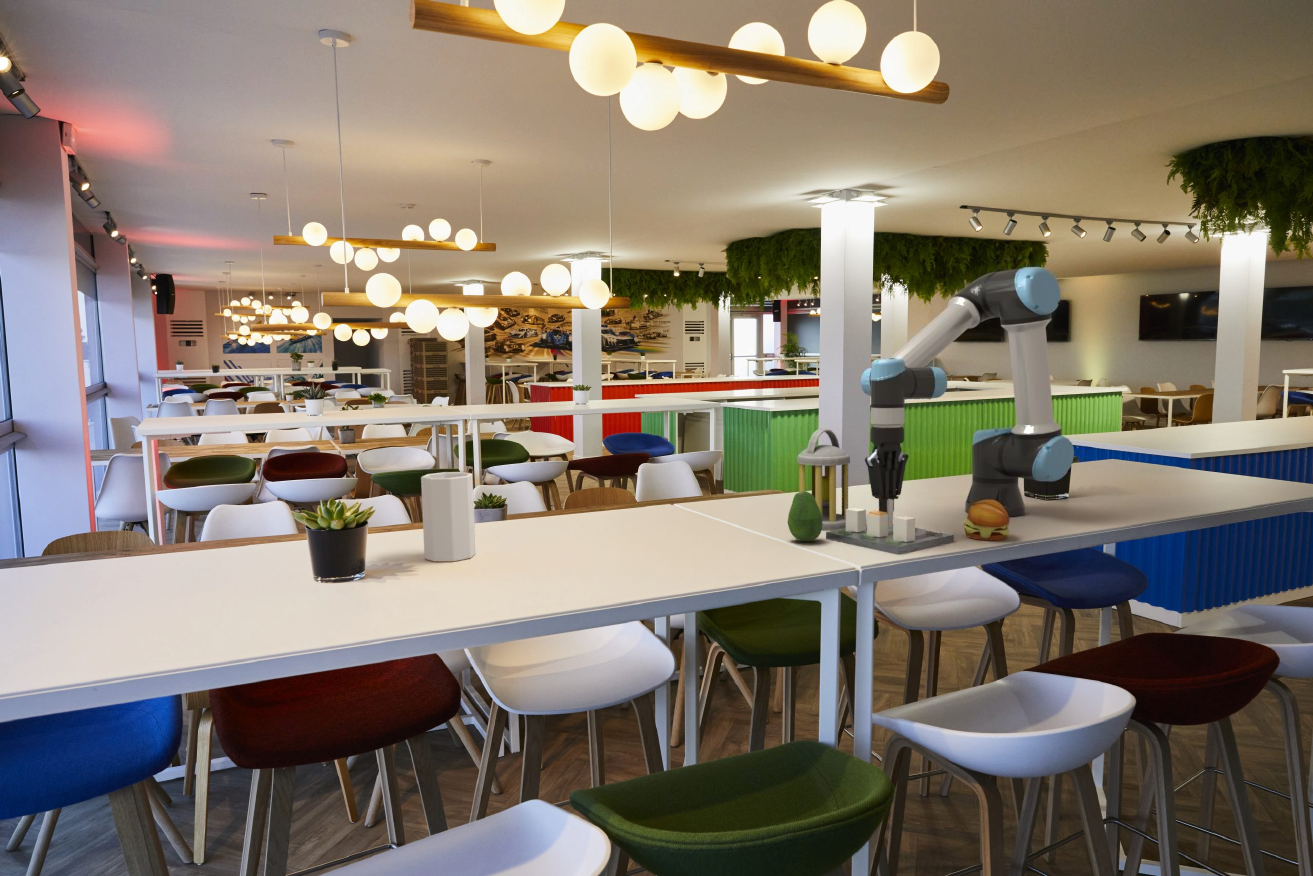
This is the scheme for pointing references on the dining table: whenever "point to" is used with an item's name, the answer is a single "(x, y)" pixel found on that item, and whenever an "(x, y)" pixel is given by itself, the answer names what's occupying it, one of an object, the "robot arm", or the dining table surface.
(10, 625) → the dining table surface
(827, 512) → the lantern
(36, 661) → the dining table surface
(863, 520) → the toggle low
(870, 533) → the toggle mid
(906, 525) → the toggle high
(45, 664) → the dining table surface
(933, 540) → the panel
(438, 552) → the cup
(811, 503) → the avocado
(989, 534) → the cheeseburger
